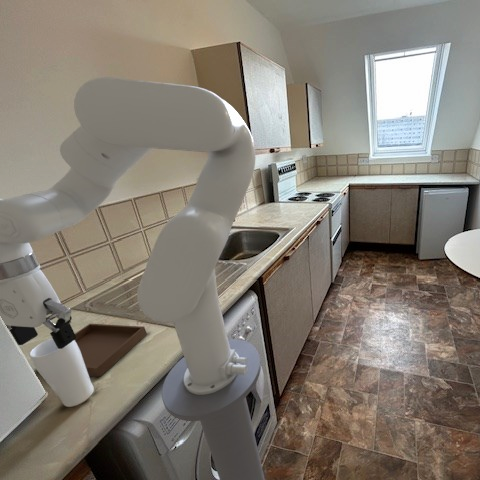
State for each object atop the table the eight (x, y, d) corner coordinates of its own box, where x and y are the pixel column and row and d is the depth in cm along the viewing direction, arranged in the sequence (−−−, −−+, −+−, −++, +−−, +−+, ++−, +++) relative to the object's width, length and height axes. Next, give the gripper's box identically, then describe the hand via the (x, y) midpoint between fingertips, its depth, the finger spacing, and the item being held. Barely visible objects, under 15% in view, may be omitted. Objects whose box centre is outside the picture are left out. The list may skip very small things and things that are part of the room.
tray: (147, 334, 79) (144, 326, 78) (100, 377, 65) (96, 368, 64) (93, 330, 82) (89, 323, 81) (37, 370, 68) (32, 362, 67)
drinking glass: (67, 417, 56) (35, 362, 50) (54, 403, 59) (23, 351, 53) (104, 391, 61) (78, 339, 56) (90, 380, 64) (65, 330, 59)
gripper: (-58, 275, 46) (-9, 352, 52) (22, 278, 43) (63, 359, 49) (-3, 257, 53) (34, 327, 59) (69, 259, 50) (100, 332, 56)
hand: (48, 341), depth 54 cm, fingers open, 9 cm apart
